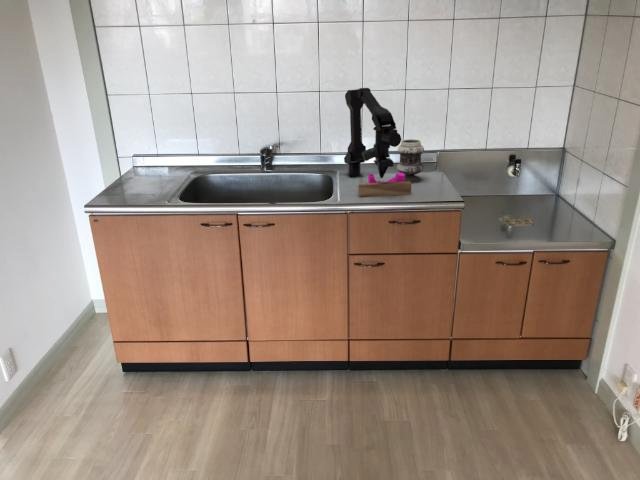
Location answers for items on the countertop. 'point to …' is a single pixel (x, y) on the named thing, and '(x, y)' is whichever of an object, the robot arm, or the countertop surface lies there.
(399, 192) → the walnut board
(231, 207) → the countertop surface
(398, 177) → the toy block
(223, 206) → the countertop surface
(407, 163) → the apothecary jar
